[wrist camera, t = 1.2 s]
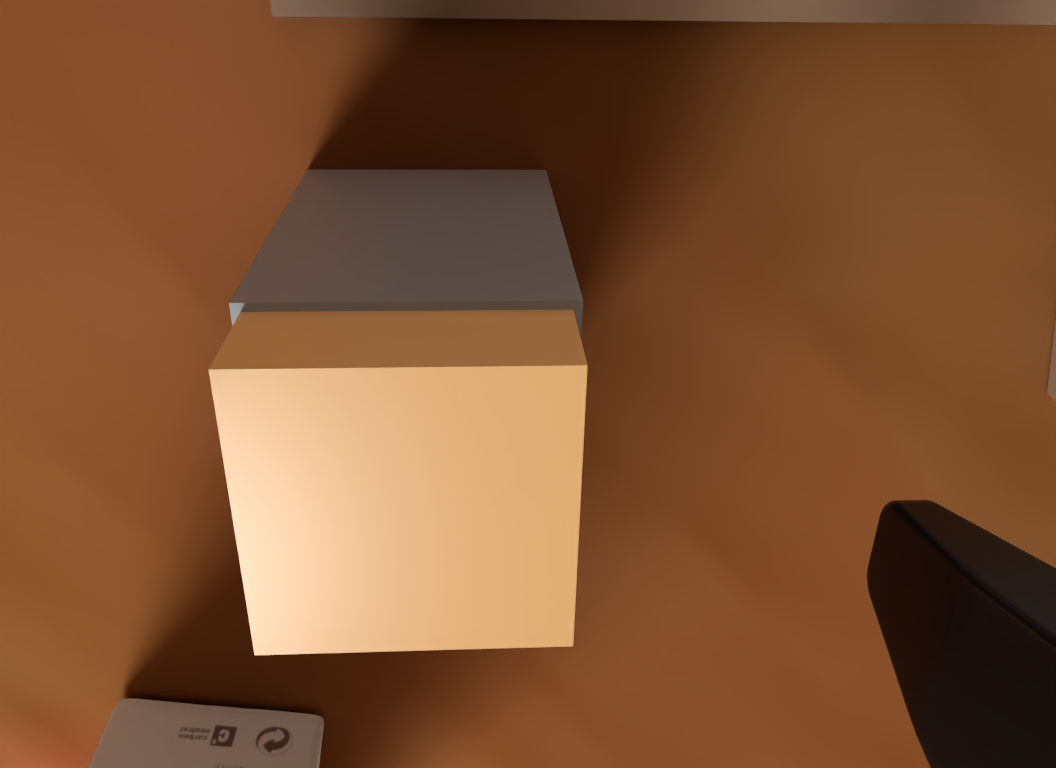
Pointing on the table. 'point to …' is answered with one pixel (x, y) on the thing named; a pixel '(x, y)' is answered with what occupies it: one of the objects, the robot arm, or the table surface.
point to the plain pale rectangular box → (1052, 370)
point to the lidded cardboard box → (407, 416)
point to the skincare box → (206, 737)
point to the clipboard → (690, 10)
